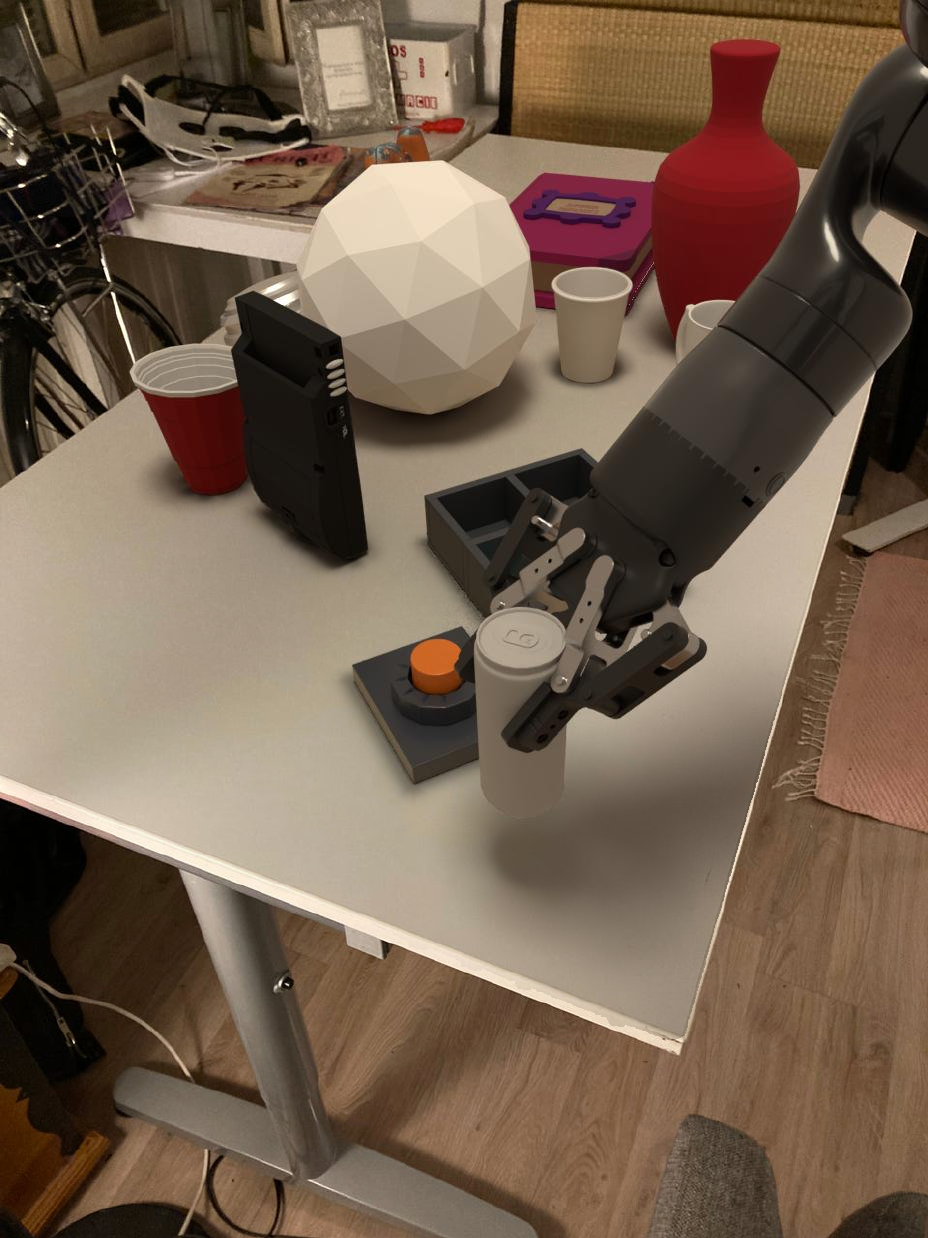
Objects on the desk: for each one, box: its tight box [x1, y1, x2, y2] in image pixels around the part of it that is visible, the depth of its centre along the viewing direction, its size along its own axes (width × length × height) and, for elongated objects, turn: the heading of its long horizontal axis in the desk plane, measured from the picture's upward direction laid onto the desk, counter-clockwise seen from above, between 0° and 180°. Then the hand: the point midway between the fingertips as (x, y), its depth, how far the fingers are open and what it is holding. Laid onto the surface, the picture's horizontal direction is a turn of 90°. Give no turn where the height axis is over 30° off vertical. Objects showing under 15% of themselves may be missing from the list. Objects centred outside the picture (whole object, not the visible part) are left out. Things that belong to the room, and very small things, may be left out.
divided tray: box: [423, 447, 599, 630], centre depth 80 cm, size 15×15×5 cm
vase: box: [651, 38, 801, 344], centre depth 102 cm, size 15×15×30 cm
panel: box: [351, 626, 479, 784], centre depth 69 cm, size 11×9×4 cm
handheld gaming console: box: [231, 291, 369, 561], centre depth 80 cm, size 12×5×20 cm, turn 42°
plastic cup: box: [129, 343, 248, 496], centre depth 90 cm, size 11×11×12 cm
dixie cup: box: [552, 267, 633, 384], centre depth 104 cm, size 8×8×10 cm
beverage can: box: [474, 607, 568, 819], centre depth 52 cm, size 5×5×12 cm
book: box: [509, 172, 655, 318], centre depth 127 cm, size 21×28×8 cm
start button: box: [410, 639, 463, 695], centre depth 67 cm, size 4×4×2 cm
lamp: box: [219, 159, 538, 415], centre depth 99 cm, size 23×35×24 cm, turn 70°
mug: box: [675, 300, 735, 367], centre depth 95 cm, size 10×7×12 cm, turn 24°
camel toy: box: [363, 125, 431, 171], centre depth 127 cm, size 25×13×17 cm, turn 157°
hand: (490, 709), depth 51 cm, fingers closed on beverage can, 5 cm apart
